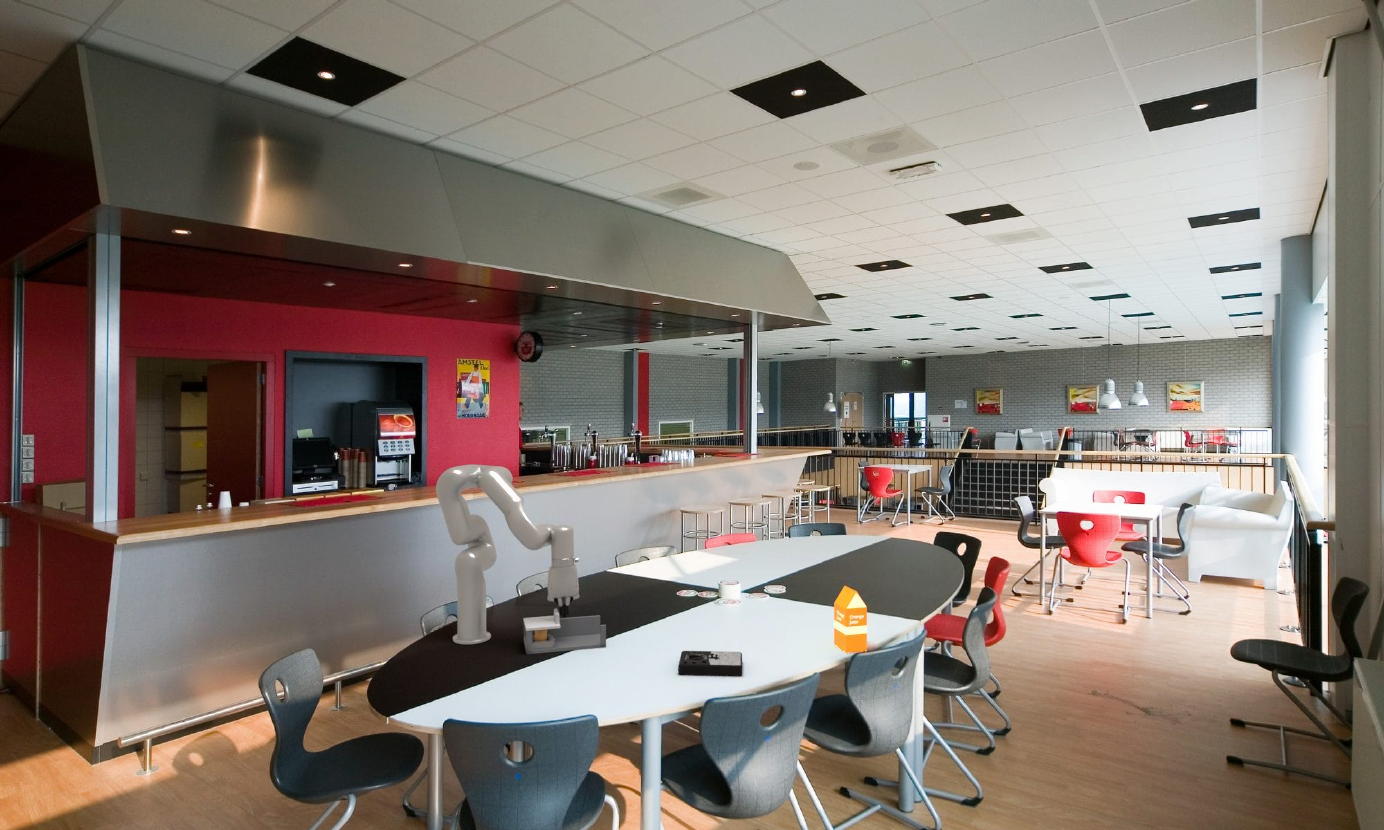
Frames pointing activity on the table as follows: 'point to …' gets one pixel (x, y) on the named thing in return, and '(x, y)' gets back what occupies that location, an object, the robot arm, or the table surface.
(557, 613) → the lid
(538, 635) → the peg
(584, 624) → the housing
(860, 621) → the orange juice
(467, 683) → the table surface
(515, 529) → the robot arm
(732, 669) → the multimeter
